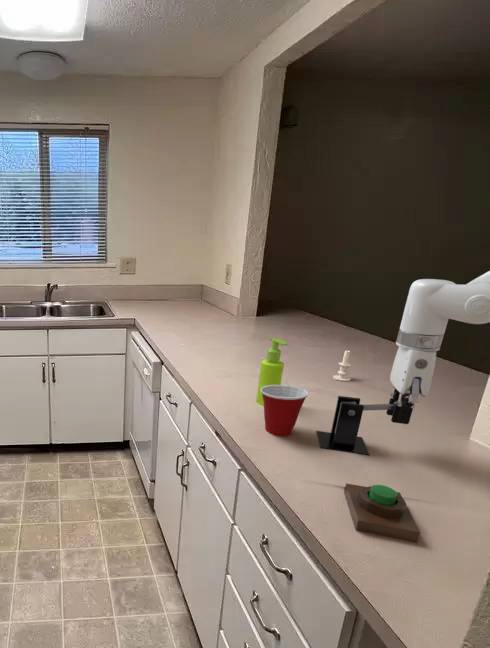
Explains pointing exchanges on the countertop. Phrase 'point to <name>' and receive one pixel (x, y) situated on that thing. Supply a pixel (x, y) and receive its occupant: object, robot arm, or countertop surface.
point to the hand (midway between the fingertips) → (397, 418)
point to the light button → (383, 494)
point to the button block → (380, 515)
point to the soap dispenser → (271, 368)
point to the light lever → (378, 406)
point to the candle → (343, 368)
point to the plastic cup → (282, 407)
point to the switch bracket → (345, 428)
